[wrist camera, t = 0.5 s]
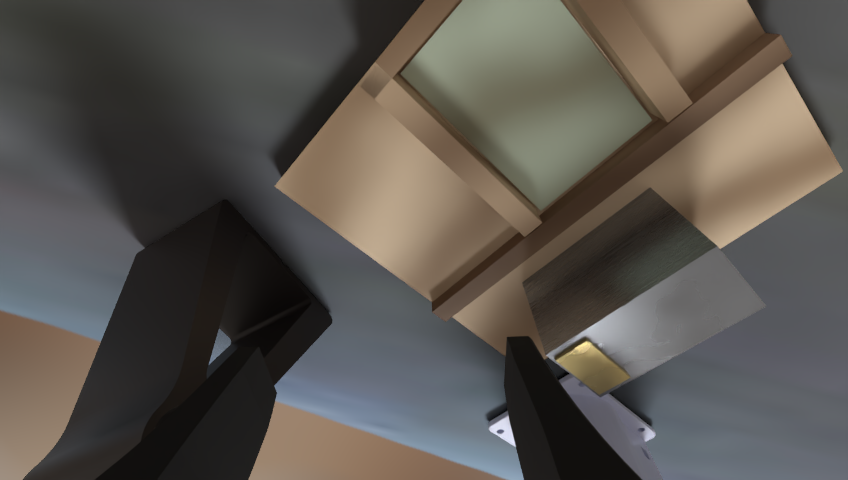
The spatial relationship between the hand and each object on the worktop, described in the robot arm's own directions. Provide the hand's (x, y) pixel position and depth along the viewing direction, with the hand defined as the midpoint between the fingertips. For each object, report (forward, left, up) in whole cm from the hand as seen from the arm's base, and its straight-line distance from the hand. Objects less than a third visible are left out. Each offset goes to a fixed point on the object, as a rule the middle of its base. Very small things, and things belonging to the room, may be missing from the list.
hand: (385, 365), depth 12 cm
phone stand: (+3, +10, -10) cm, 14 cm away
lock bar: (-9, -5, -9) cm, 14 cm away
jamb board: (-4, -6, -10) cm, 12 cm away
